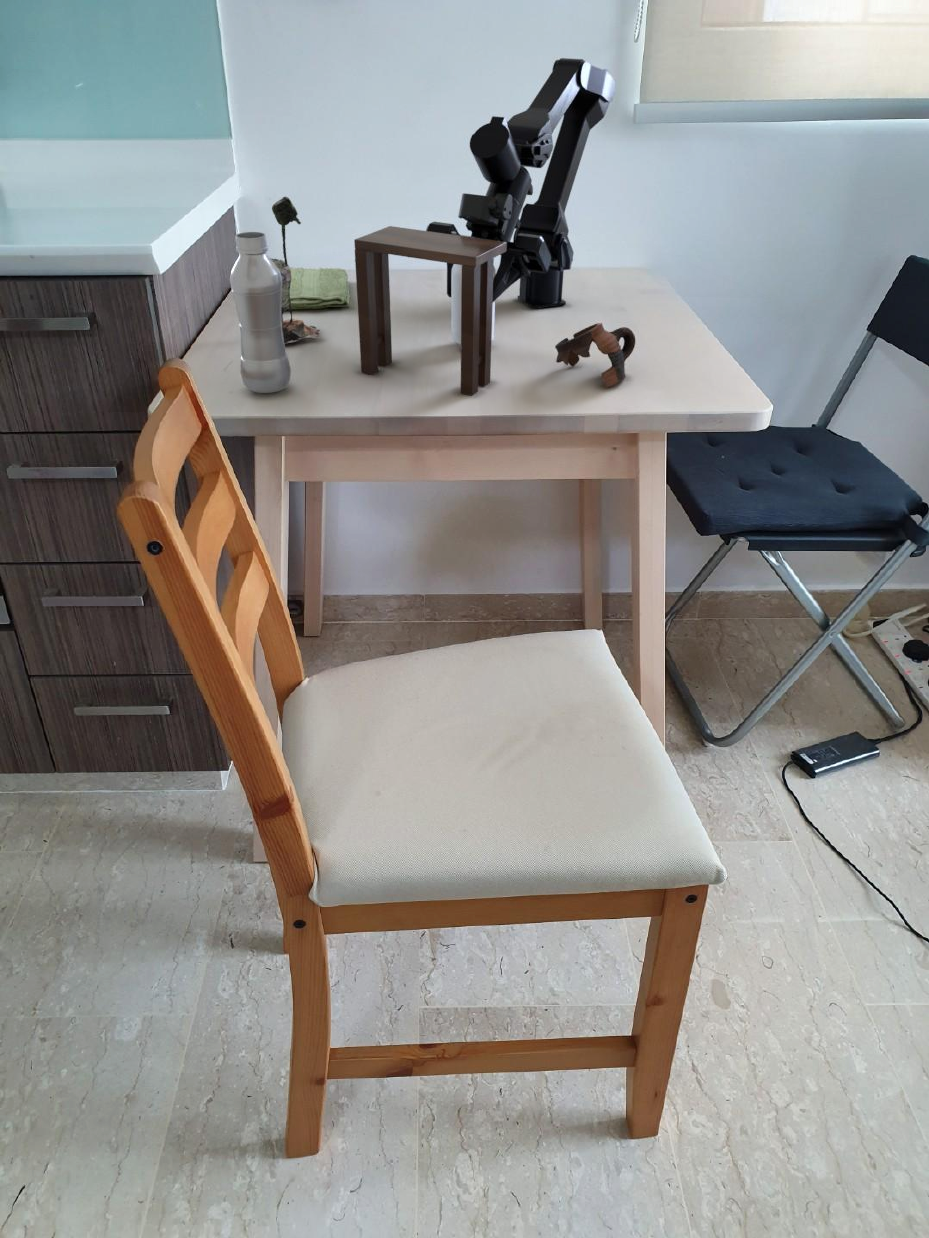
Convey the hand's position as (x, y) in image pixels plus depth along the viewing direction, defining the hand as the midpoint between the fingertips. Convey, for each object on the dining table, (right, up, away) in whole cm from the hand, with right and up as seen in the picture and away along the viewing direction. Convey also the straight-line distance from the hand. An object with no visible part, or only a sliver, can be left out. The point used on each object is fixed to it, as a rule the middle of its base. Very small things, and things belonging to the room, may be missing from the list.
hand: (468, 299), depth 136 cm
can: (+1, -5, +5) cm, 7 cm away
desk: (-5, -12, -4) cm, 14 cm away
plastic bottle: (-27, -16, -10) cm, 33 cm away
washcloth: (-27, +9, +26) cm, 39 cm away
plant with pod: (-29, -4, +8) cm, 30 cm away
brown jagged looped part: (+18, -12, -3) cm, 22 cm away
